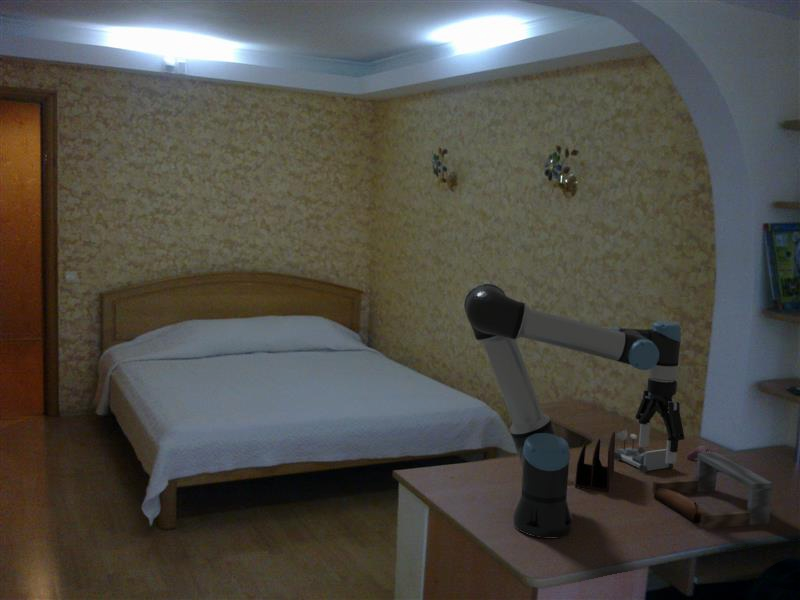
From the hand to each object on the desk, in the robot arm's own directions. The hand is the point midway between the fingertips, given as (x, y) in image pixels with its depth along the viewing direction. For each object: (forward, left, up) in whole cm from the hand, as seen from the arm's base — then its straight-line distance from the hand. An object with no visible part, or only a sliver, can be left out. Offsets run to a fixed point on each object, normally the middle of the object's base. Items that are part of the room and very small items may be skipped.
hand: (656, 454), depth 214 cm
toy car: (+18, +37, -17) cm, 44 cm away
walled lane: (+17, 0, -16) cm, 24 cm away
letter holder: (-4, +26, -17) cm, 31 cm away
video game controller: (+37, +33, -17) cm, 52 cm away
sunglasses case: (+10, 0, -17) cm, 20 cm away
